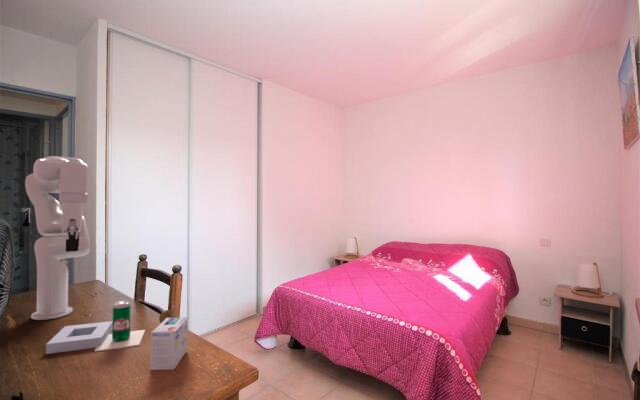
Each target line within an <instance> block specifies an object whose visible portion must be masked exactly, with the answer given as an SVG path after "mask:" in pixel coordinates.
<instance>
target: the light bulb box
mask: <svg viewBox="0 0 640 400" xmlns="http://www.w3.org/2000/svg"><path fill="white" fill-rule="evenodd" d="M188 321H189V318H188V317H186V316H182V317H173V318H166V319H165V320H164V321H163V322H162V323H160V324H159V325H157V326H156V327H155V328H154V329H153V330H152V331H150V370H151V371H152V370H153V371H158V370H160V371H161V370H162V371H163V370H164V371H165V370H166V371H167V370H169V371H170V370H175V368H176V367H177V365H178V364H179V363H180V362H181V360H182V359H183V357H184V356H185V355H186V353H187V352H188Z"/></svg>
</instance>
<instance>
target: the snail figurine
mask: <svg viewBox="0 0 640 400" xmlns="http://www.w3.org/2000/svg"><path fill="white" fill-rule="evenodd" d="M172 304H173V305H171V308H170V309H171V310H170V309H165V310H163V311H162V312H161V313H160V315H159V318H158V319H159V322H160V324H161V323H162V322H163V321H164V320H165V319H166V318H175V312H176V309H177V307H176V304H177V302H175V301H173V302H172Z"/></svg>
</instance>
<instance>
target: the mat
mask: <svg viewBox="0 0 640 400" xmlns="http://www.w3.org/2000/svg"><path fill="white" fill-rule="evenodd" d="M145 332H146V329H139V330H130V337H129V338H128V339H127V340H125V341H121V342H115V341H113V340H112V333H110V334H109V335H108V336H107V338H106V339H105V341H104V342H103V344H102V345H101V346H97V347H96V348H94V351H93V352H95V353H96V352H102V351H103V352H104V351H109V350H117V349H118V350H119V349H123V348H124V349H125V348H131V347H132V348H133V347H139V346H140V345H141V342H142V340H143V337H144V335H145Z"/></svg>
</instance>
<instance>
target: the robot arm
mask: <svg viewBox="0 0 640 400" xmlns="http://www.w3.org/2000/svg"><path fill="white" fill-rule="evenodd" d="M32 168H33V169H32V171H33V172H32V173H30V174H28V175H27V176H26V177H25V182H24V186H25V191H26V195H27V196H28V199H29V200H30V202H31V204H32V205H33V208H34V212H35V213H34V214H35V221H36V227H37V228H36V229H37V231H38V234H39V235H42V236H41V237H40V238H38V239H37V240H36V241H35V242H34V245H33V246H34V247H33V249H34V254H35V259H36V311H35V312H32V313H31V316H30V318H31V320H34V321H35V320H36V321H44V320H52V319H58V318H61V317H64V316H67V315H70V314H71V313H73V311H74V310H73V307H71V306H69V268H68V267H67V265H66V264H65V263H64V262H62V261H61V260H64V259H73V258H79V257H80V258H81V257H84V256H86V255H88V254H89V253H90V251H91V242H90V236H89V230H88V225H87V221H86V218H85V216H84V213H83V211H84V204H88V191H89V187H88V186H89V185H88V184H89V167H88V164H87V163H84V161H83V160H81V159H79V158H77V157H67V156H56V155H52V156H51V155H49V156H46V157H44V158H38V159H36V160H35V162H34V163H33V167H32ZM51 194H58V200H57V199H56V198H55V197H54V196H52V195H51Z"/></svg>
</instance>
